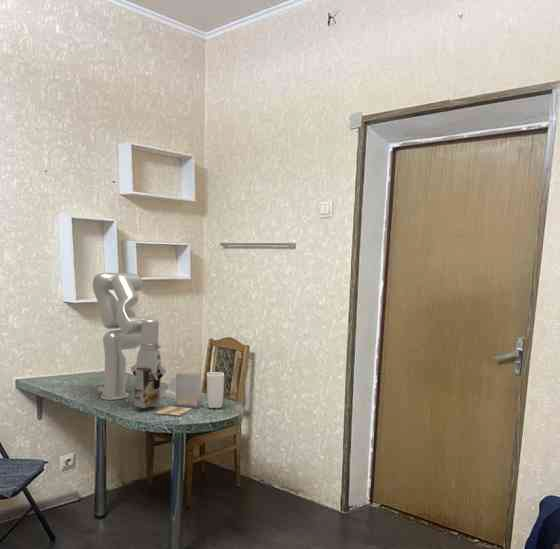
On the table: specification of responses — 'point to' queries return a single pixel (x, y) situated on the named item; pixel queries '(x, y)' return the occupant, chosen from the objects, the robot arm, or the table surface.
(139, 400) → the coffee box
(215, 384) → the cup
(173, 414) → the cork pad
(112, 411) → the table surface
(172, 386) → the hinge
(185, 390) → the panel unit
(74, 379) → the table surface
